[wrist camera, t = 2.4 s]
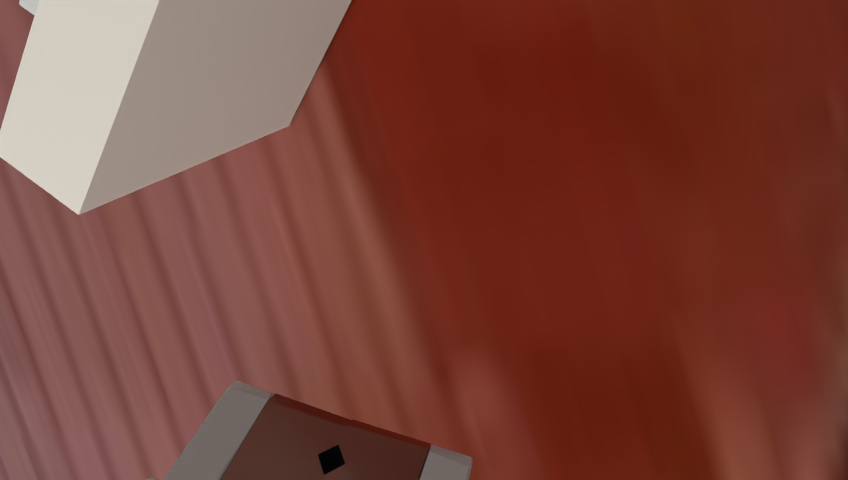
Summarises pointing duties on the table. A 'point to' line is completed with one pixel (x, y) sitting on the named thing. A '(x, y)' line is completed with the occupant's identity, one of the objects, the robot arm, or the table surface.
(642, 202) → the table surface
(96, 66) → the card box
